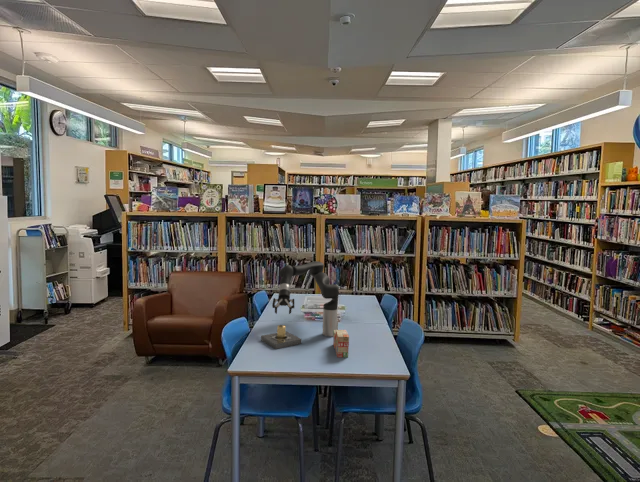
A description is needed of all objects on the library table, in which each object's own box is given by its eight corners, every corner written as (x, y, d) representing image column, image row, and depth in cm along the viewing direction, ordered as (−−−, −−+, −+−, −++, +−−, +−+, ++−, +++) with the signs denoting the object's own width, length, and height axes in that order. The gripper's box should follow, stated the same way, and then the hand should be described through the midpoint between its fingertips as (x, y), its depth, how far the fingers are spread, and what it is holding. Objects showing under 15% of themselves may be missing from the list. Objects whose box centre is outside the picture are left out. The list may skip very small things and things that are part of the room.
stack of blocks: (332, 344, 249) (333, 325, 248) (343, 344, 249) (343, 325, 248) (337, 357, 228) (338, 336, 226) (348, 357, 228) (349, 336, 227)
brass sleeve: (282, 340, 254) (282, 324, 253) (286, 342, 250) (287, 326, 249) (275, 341, 251) (275, 325, 250) (279, 343, 247) (280, 327, 246)
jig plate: (286, 335, 263) (286, 331, 262) (301, 343, 248) (301, 339, 248) (261, 340, 252) (261, 335, 252) (275, 349, 238) (275, 344, 237)
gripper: (295, 295, 274) (294, 316, 264) (274, 294, 274) (272, 315, 264) (295, 289, 269) (293, 310, 258) (273, 288, 268) (271, 309, 258)
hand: (282, 313), depth 261 cm, fingers open, 8 cm apart
